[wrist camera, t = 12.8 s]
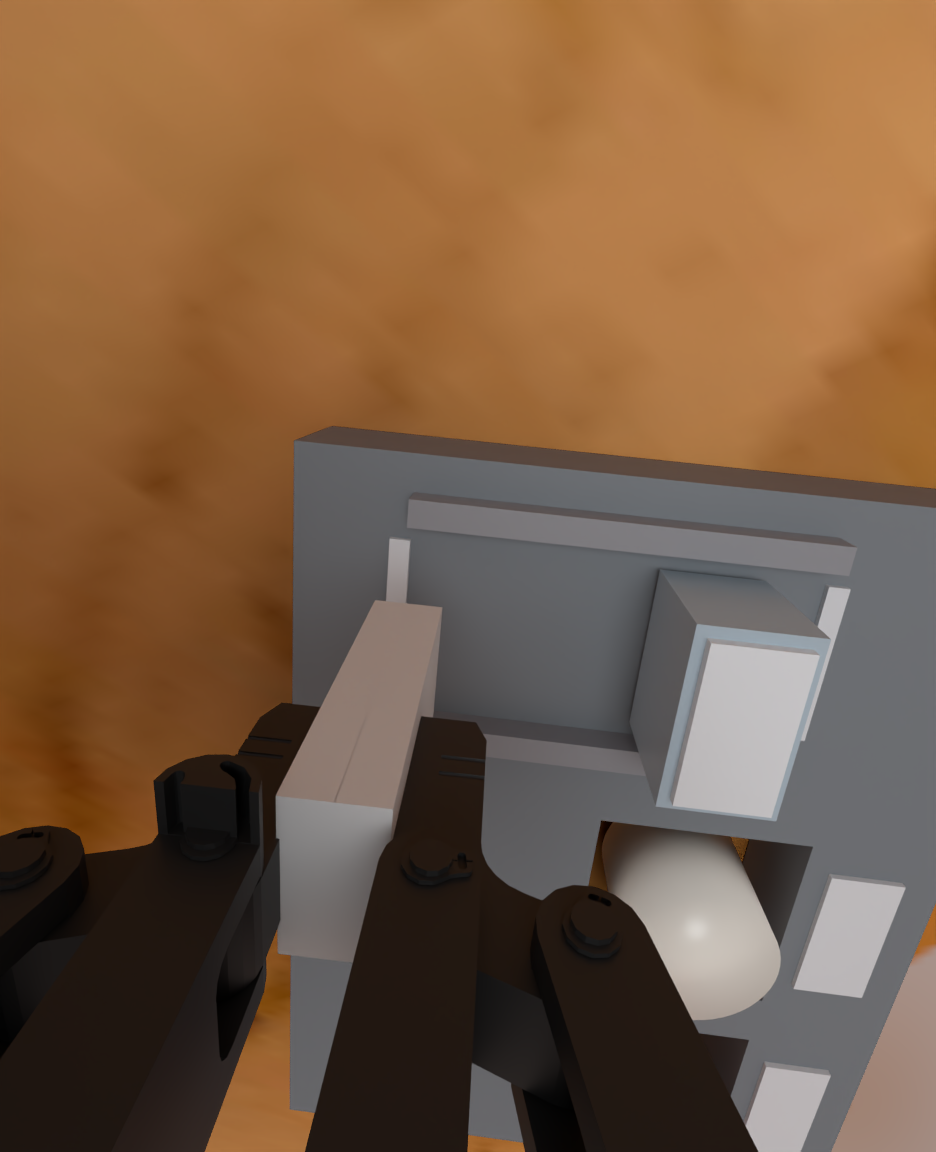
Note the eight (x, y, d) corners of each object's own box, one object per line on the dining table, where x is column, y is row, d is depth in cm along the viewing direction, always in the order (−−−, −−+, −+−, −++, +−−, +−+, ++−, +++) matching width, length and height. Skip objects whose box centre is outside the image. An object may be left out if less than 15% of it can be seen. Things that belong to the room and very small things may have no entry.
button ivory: (592, 892, 27) (609, 1008, 22) (613, 791, 25) (635, 892, 20) (716, 908, 26) (759, 1029, 22) (744, 806, 25) (798, 913, 20)
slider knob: (629, 721, 20) (658, 814, 16) (659, 569, 18) (700, 629, 14) (727, 733, 20) (780, 829, 16) (766, 580, 18) (837, 644, 14)
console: (317, 1018, 31) (281, 1136, 26) (331, 426, 22) (282, 444, 17) (779, 1081, 30) (828, 1215, 26) (992, 494, 21) (1128, 534, 17)
